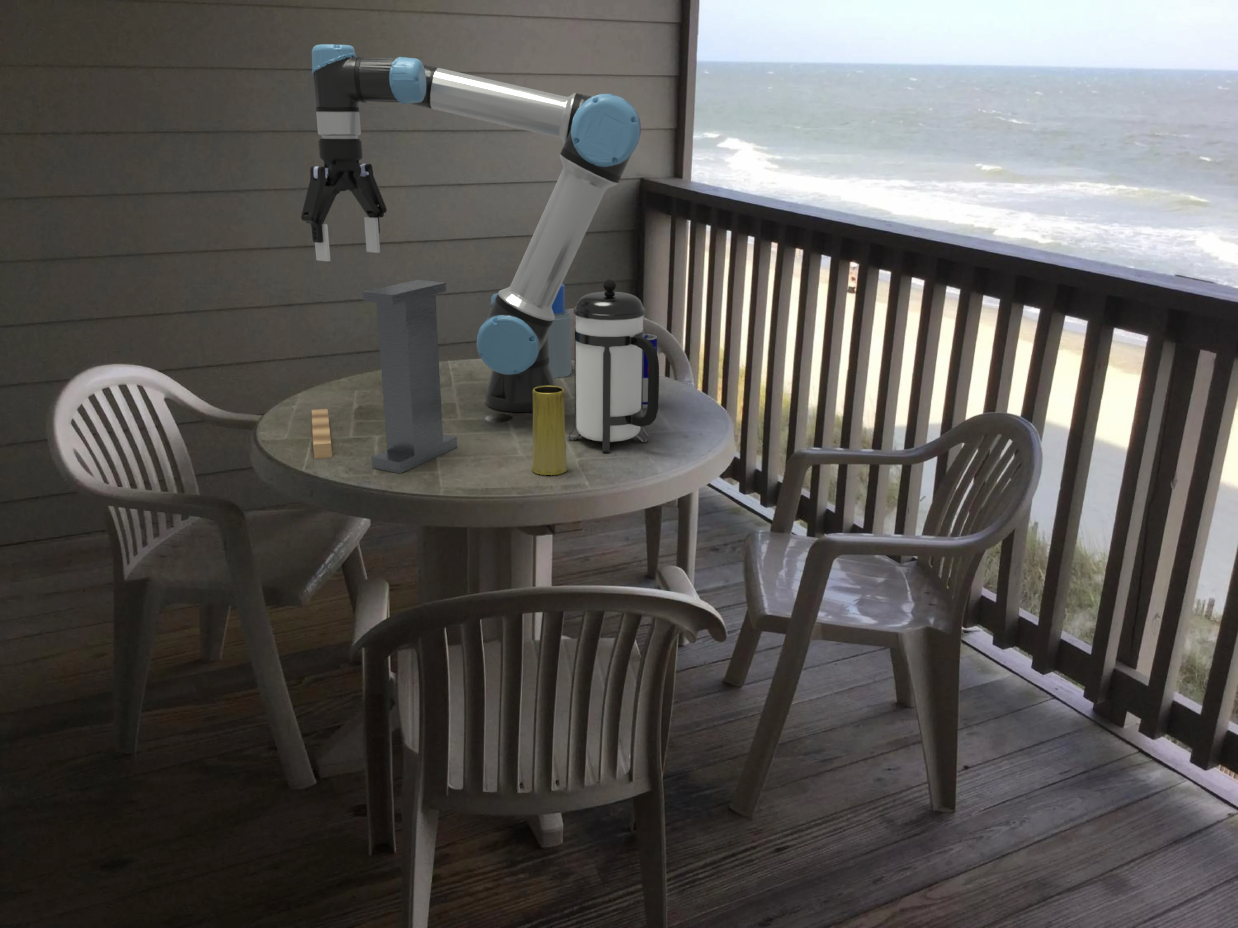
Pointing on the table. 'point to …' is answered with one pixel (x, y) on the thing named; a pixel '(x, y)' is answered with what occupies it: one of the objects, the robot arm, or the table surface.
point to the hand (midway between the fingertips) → (349, 256)
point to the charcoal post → (410, 374)
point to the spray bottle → (560, 337)
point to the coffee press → (612, 368)
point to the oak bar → (321, 434)
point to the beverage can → (645, 369)
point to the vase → (548, 431)
